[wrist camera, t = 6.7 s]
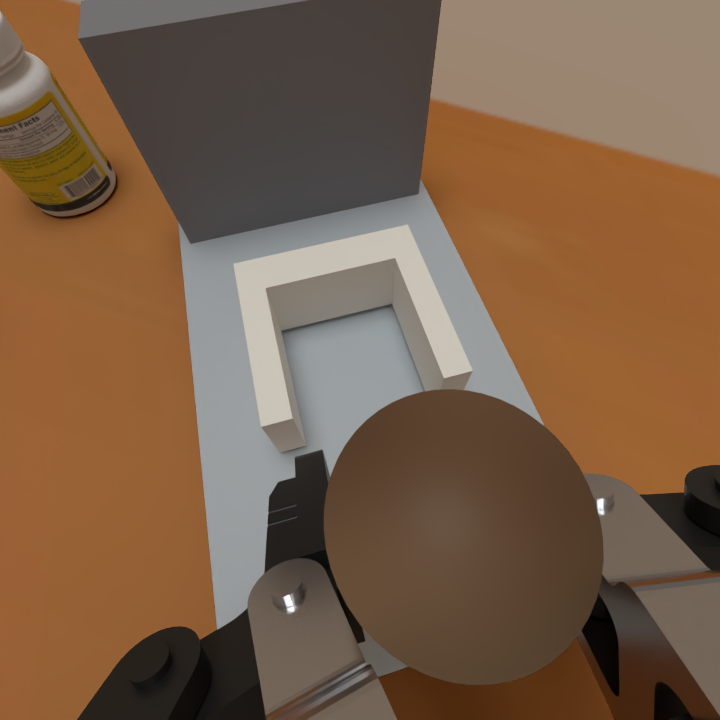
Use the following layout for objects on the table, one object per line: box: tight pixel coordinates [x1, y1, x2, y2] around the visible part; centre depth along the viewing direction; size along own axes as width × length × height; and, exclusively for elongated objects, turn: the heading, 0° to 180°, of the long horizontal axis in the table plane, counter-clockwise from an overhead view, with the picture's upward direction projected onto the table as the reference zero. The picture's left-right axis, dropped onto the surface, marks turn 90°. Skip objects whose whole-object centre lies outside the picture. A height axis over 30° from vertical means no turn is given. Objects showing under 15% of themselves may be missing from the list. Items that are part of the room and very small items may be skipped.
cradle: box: [233, 224, 473, 452], centre depth 16 cm, size 7×7×3 cm
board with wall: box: [78, 0, 544, 677], centre depth 14 cm, size 22×13×10 cm, turn 15°
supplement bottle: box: [0, 11, 116, 216], centre depth 21 cm, size 5×5×8 cm
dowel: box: [324, 389, 604, 685], centre depth 9 cm, size 4×4×9 cm
